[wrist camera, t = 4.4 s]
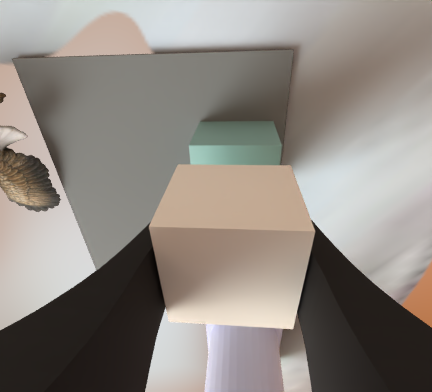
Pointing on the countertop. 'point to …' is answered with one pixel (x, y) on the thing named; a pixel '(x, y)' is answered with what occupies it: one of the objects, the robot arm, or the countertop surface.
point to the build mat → (141, 125)
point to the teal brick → (235, 143)
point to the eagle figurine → (24, 174)
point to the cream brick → (232, 245)
